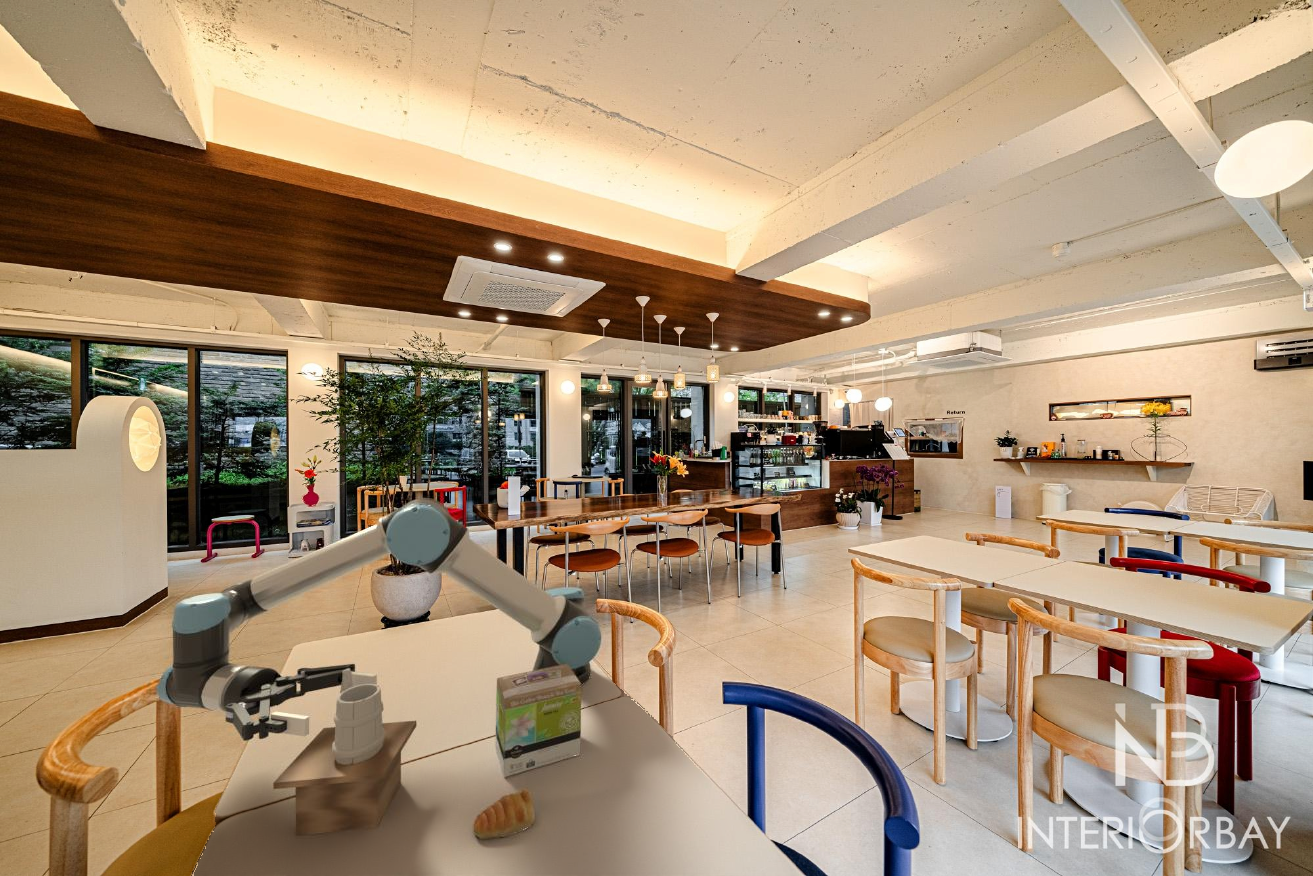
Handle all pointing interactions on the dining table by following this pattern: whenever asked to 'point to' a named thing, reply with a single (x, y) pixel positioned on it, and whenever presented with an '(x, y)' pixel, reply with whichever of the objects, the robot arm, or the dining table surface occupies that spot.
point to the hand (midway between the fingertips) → (344, 702)
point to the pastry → (506, 816)
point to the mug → (357, 722)
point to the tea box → (537, 718)
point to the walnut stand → (344, 783)
